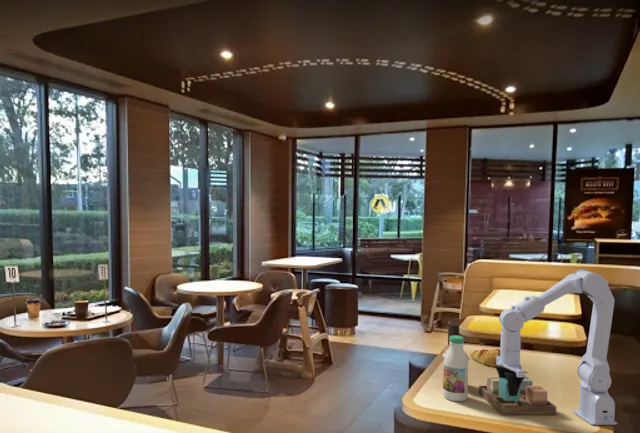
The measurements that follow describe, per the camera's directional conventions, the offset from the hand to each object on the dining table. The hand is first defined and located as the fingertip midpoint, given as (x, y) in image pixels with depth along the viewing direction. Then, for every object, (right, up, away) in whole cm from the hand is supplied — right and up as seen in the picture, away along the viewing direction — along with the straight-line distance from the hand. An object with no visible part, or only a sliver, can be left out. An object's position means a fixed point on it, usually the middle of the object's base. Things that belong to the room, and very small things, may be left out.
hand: (509, 392), depth 144 cm
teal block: (0, -2, 0) cm, 2 cm away
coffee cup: (-11, -5, +20) cm, 23 cm away
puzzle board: (+4, -5, +5) cm, 8 cm away
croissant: (+12, -6, +44) cm, 46 cm away
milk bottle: (-14, -5, +9) cm, 17 cm away
